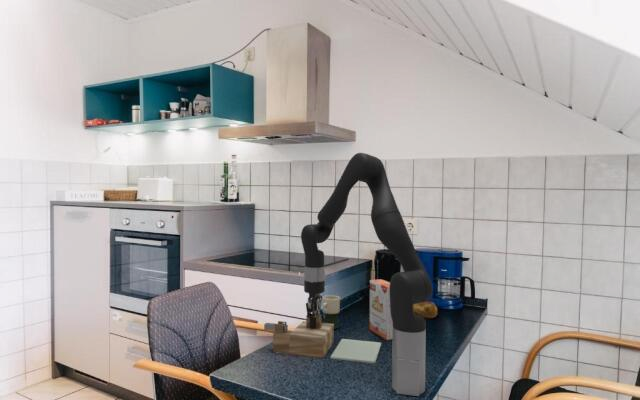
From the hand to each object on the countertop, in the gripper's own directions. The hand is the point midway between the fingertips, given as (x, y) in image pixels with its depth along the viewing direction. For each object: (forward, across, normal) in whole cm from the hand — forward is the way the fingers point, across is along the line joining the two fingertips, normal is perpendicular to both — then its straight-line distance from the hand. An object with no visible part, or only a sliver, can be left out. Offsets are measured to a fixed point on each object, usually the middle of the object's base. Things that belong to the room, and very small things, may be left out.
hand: (314, 326), depth 152 cm
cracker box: (+8, -21, +23) cm, 32 cm away
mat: (+8, 0, +16) cm, 18 cm away
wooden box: (+8, +2, -3) cm, 8 cm away
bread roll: (+8, -54, +38) cm, 67 cm away
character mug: (+8, -23, +1) cm, 24 cm away
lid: (+2, +2, 0) cm, 3 cm away
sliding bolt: (0, +8, -12) cm, 14 cm away
